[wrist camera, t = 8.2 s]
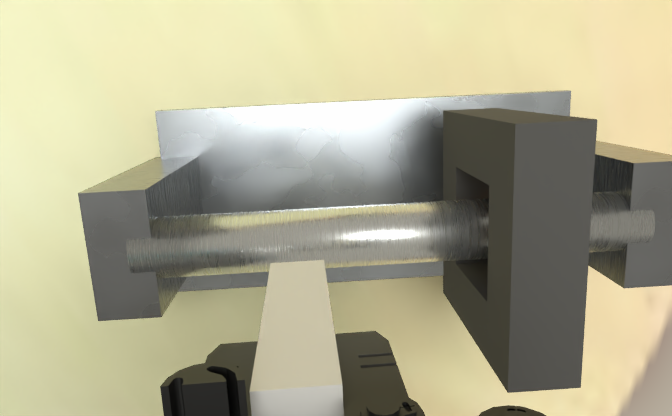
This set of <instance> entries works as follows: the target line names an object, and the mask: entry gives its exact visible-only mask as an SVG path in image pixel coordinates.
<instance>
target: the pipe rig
mask: <svg viewBox="0 0 672 416" xmlns="http://www.w3.org/2000/svg"><path fill="white" fill-rule="evenodd" d="M570 99H571V91H546V92H526V93H506V94H485V95H465V96H445V97H424V98H404V99H383V100H363V101H343V102H322V103H302V104H282V105H261V106H241V107H221V108H200V109H180V110H160V111H155V113H156V121H157V129H158V138H159V146H160V154H161V157H156V158H154V159H151V160H149V161H147V162H145V163H143V164H141V165H138V166H136V167H134V168H132V169H130V170H128V171H125V172H123V173H121V174H119V175H117V176H115V177H112V178H110V179H108V180H106V181H104V182H102V183H99V184H97V185H95V186H93V187H91V188H88V189H86V190H84V191H82V192H80V193H78V196H79V202H80V209H81V215H82V221H83V228H84V234H85V240H86V247H87V253H88V259H89V266H90V272H91V278H92V285H93V291H94V297H95V304H96V310H97V316H98V321H106V320H122V319H138V318H154V317H162V315H163V314H164V312H165V311H166V309H167V308H168V306H169V305H170V303H171V301H172V300H173V298H174V297H175V295H176V294H177V292H179V291H195V290H212V289H228V288H245V287H261V286H267V282H268V276H269V270H270V264H271V263H282V262H297V261H313V260H324V263H325V270H326V277H327V282H343V281H360V280H376V279H393V278H409V277H425V276H442V275H443V261H453V260H470V259H487V258H488V224H489V198H487V199H469V200H451V201H443V111H444V110H464V109H484V108H502V109H510V110H519V111H527V112H536V113H545V114H553V115H562V116H570ZM588 265H589V266H590V267H592V268H594V269H595V270H597V271H598V272H600V273H601V274H603V275H604V276H606V277H608V278H609V279H611V280H612V281H614V282H615V283H617V284H618V285H620V286H621V287H623V288H635V287H651V286H667V285H672V155H668V154H663V153H658V152H653V151H647V150H642V149H637V148H632V147H626V146H621V145H616V144H611V143H605V142H600V141H596V147H595V163H594V179H593V195H592V211H591V228H590V244H589V260H588Z"/></svg>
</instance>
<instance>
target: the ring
mask: <svg viewBox="0 0 672 416" xmlns="http://www.w3.org/2000/svg"><path fill="white" fill-rule="evenodd" d="M596 131H597V120H596V119H587V118H579V117H570V116H562V115H553V114H545V113H536V112H527V111H519V110H510V109H502V108H484V109H464V110H444V111H443V201H451V200H469V199H487V198H489V224H488V258H487V259H470V260H453V261H443V293H444V294H445V296H446V297H447V299H448V300H449V302H450V303H451V305H452V307H453V308H454V310H455V311H456V313H457V314H458V316H459V317H460V319H461V321H462V322H463V324H464V325H465V327H466V328H467V330H468V331H469V333H470V335H471V336H472V338H473V339H474V341H475V342H476V344H477V345H478V347H479V349H480V350H481V352H482V353H483V355H484V356H485V358H486V359H487V361H488V362H489V364H490V366H491V367H492V369H493V370H494V372H495V373H496V375H497V376H498V378H499V380H500V381H501V383H502V384H503V386H504V387H505V389H506V390H507V392H508V393H509V392H524V391H538V390H553V389H568V388H581V373H582V357H583V340H584V324H585V308H586V292H587V276H588V260H589V244H590V228H591V211H592V195H593V179H594V163H595V147H596Z"/></svg>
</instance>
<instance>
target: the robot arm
mask: <svg viewBox="0 0 672 416" xmlns="http://www.w3.org/2000/svg"><path fill="white" fill-rule="evenodd" d="M160 388H161V395H162V403H163V411H164V416H425V414H424V412H423V410H422V409H421V407H420V406H419V405H418V403H417V402H415V401H413V400H412V399H410V398H409V397H408V394H407V392H406V389H405V386H404V383H403V380H402V378H401V375H400V372H399V369H398V367H397V365H396V361H395V358H394V355H393V353H392V350H391V347H390V344H389V341H388V340H387V339H385V338H384V337H383V336H381V335H380V334H379V333H377V332H376V331H370V332H356V333H343V334H335V331H334V324H333V317H332V311H331V304H330V297H329V290H328V284H327V277H326V270H325V263H324V260H313V261H297V262H282V263H271V264H270V270H269V276H268V282H267V288H266V294H265V300H264V307H263V313H262V319H261V325H260V331H259V337H258V341H257V342H244V343H230V344H220V345H219V346H218V347H217V348H216V349H215V350H214V351H213V352H212V353H210V354H209V355H208V356H207V359H206V362H205V363H204V364H198V365H193V366H190V367H188V368H185V369H182V370H179V371H178V372H176V373H174V374H173V375H171V376H170V377H168V378H167V379H166V380H165V382H164V383H163V384H162V385H161V386H160ZM479 416H546V415H544V414H542V413H540V412H537V411H534V410H531V409H528V408H525V407H520V406H500V407H493V408H490V409H488V410H486V411H483V412H482V413H481V414H480V415H479Z"/></svg>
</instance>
